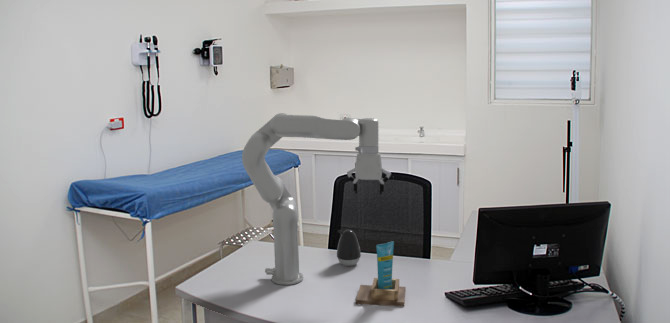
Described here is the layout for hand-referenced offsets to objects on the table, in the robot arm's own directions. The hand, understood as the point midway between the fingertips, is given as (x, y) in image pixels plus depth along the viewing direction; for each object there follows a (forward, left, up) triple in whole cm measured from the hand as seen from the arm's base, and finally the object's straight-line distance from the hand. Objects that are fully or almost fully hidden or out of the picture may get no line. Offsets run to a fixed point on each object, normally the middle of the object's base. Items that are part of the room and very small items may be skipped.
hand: (368, 193), depth 218 cm
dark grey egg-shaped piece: (-10, +13, -34) cm, 38 cm away
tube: (+8, -20, -33) cm, 39 cm away
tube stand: (+6, -20, -34) cm, 40 cm away
